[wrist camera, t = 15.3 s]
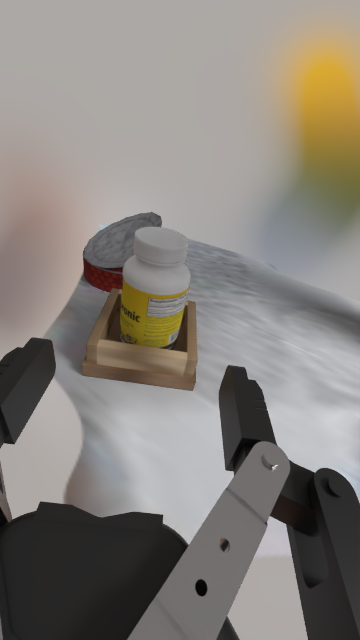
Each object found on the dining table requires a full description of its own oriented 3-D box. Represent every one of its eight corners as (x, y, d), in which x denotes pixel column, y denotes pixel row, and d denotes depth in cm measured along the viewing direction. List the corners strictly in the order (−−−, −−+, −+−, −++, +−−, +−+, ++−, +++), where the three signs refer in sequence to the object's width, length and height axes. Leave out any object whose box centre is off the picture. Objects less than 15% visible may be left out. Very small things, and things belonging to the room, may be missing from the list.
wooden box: (191, 324, 30) (198, 300, 28) (192, 390, 23) (201, 364, 21) (109, 311, 29) (110, 286, 27) (82, 375, 22) (80, 346, 20)
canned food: (145, 321, 37) (151, 282, 28) (74, 297, 36) (57, 250, 27) (168, 258, 42) (179, 209, 33) (106, 237, 41) (100, 181, 32)
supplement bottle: (114, 321, 26) (119, 220, 20) (166, 318, 28) (184, 225, 22) (124, 361, 22) (133, 250, 17) (184, 354, 24) (211, 252, 19)
